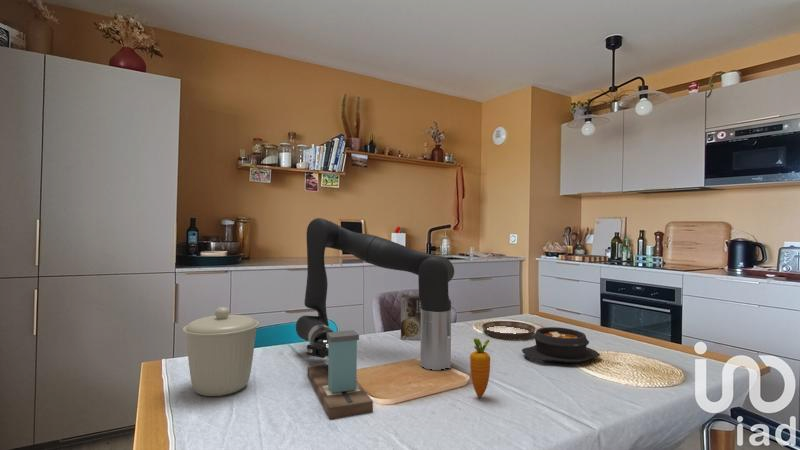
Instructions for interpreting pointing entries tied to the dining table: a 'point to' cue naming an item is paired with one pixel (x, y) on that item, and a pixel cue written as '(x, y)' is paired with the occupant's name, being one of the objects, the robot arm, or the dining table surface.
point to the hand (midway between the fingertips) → (337, 357)
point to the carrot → (480, 367)
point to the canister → (220, 352)
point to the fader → (342, 360)
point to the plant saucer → (509, 324)
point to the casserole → (560, 346)
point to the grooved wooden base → (338, 396)
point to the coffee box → (410, 317)
